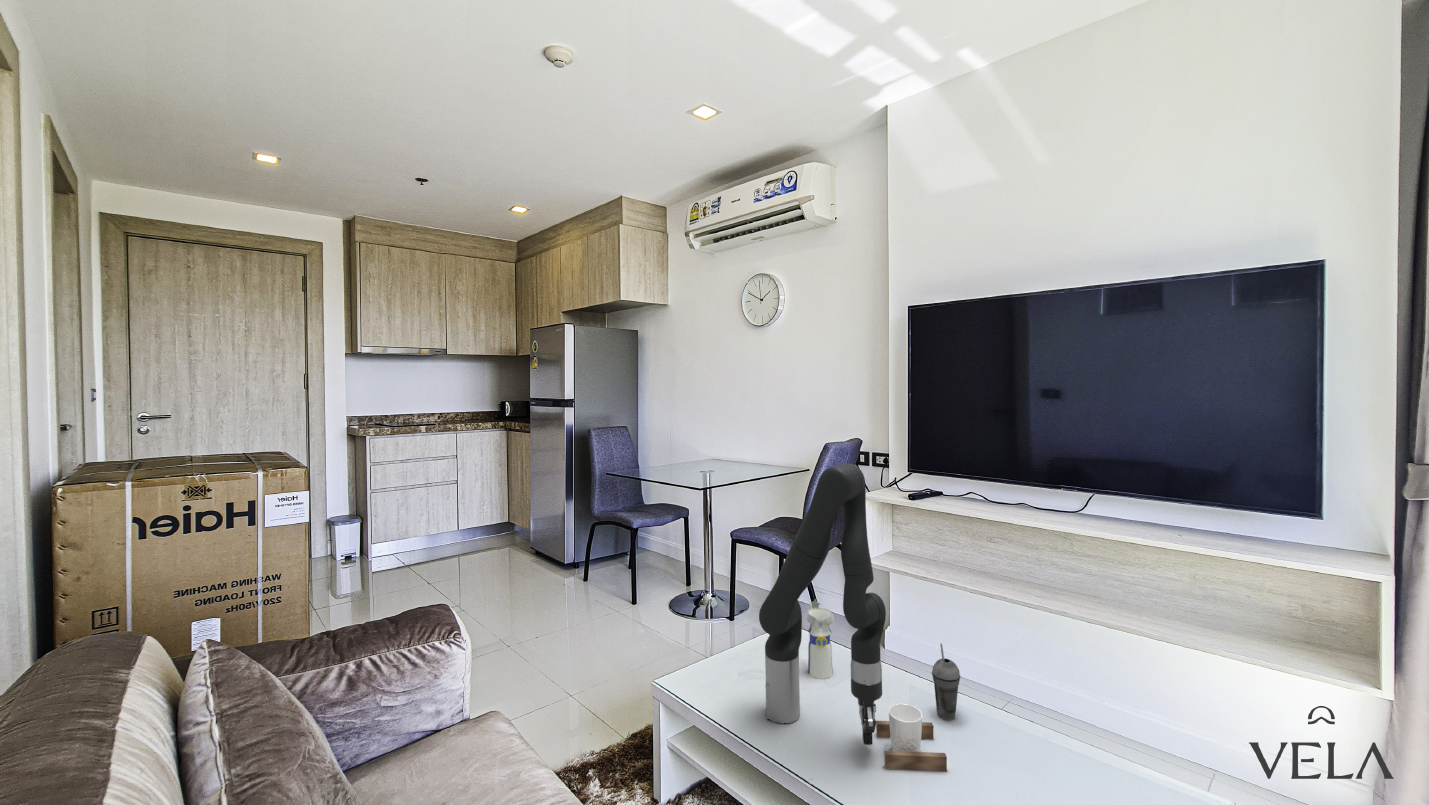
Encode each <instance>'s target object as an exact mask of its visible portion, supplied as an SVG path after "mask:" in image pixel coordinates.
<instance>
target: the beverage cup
mask: <svg viewBox="0 0 1429 805" xmlns="http://www.w3.org/2000/svg"><path fill="white" fill-rule="evenodd" d="M939 645H940V652H941V658H940V659H938V660H936V662H934V664H933V666H932V670H931V675H932V680H933V683H934V684H933V686H934V696H935V708H936V713H937V714H936V715H937V716H938V718H939V719H941V720H943V721H953V720H955V719H956V713H957V705H958V704H957V702H958V692H959V685H960V679H961V674H960V670H959V667H958V665H957V664H956V663H955V662H954V661H953V660H951V659H949V658H945V656H944V648H943V643H941V642H940V644H939Z"/></svg>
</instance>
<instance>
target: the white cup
mask: <svg viewBox="0 0 1429 805" xmlns="http://www.w3.org/2000/svg"><path fill="white" fill-rule="evenodd" d="M888 721H889V725H890V747H891V749H890V750H891V751H909V752H921V745H922V744H921V743H922V739H921V734H922V722H923V713H922V711H921V710H920V709H919V708H918V707H916V706H914V705H911V704H907V703H896V704H892V705H891V706H890V707H889V709H888Z"/></svg>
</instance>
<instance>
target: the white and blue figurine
mask: <svg viewBox="0 0 1429 805" xmlns="http://www.w3.org/2000/svg"><path fill="white" fill-rule="evenodd" d="M809 603H810V604H811V605H812V606H811V608H810V609H809V610H807V613H806V617H805V618H806V621H807V622H808V623H809V624H810V625H809V628H808V631H807V632H808V634H809V640H808V645H807V646H808V648H807V649H808V652H807V653H808V655H807V656H808V660H807V661H808V663H807V674H808V675H809V676H810V677H812V678H813V679H818V680H825V679H826V680H827V679H829V678H831V677H832V676H833V674H834V672H833V671H834V669H833V652H832V651H833V650H832V643H831V634H832V630H831V628H830V626H831V625H832V624H833V623H834V621H835V616H834V615H833V612H832V611H831V610H830V609H829V608H827V607H819V606H820V605H822V603H821V602H817V599H816V598H815V599H813V601H810V602H809Z"/></svg>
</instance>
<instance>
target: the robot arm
mask: <svg viewBox="0 0 1429 805" xmlns="http://www.w3.org/2000/svg"><path fill="white" fill-rule="evenodd" d="M819 476H820V477H819V478H818V481H817V484H816V487H815V490H814V493H813V496H812V499H811V502H810V504H809V507H808V510H807V512H806V514H805V516H804V518H803V520H802V523H801V524H800V527H799V529H798V531H797V534H796V535H795V537H794V539H793V540H792V543H791V545H790V548H789V550H788V552H787V555H786V558H785V560H784V562H783V564H782V566H781V569H780V571H779V574H778V576H777V578H776V581H775V583H774V585H773V586H772V588H771V589H770V591H769V593H768V595H767V596H766V598H765V600H764V602H762V605H761V606H760V607H759V608H760V609H759V611H758V612H759V614H758V619H759V620H758V622H759V625H760V626H761V628H762V630H763V631H764V632H765V633H767V634H768V635H769V636H768V638H767V639H766V641H765V643H764V655H765V656H764V658H765V661H764V662H765V663H764V664H765V719H766V720H767V719H771V720H770V721H772V720H773V721H772V722H774V721H775V722H774V723H777V722H778V723H777V724H784V723H786V724H790V723H794V722H796V721H797V720H799V718H800V716H801V704H800V700H801V699H800V698H801V697H800V696H801V694H800V689H801V688H800V654H799V653H800V651H799V650H800V646H801V644H802V643H801V642H802V637H803V636H802V630H803V624H802V623H803V615H802V614H803V613H802V607H801V605H800V604H801V603H800V602H799V599H800V598H801V597H800V596H801V595H802V594H803V593H804V591H805V590H806V589H807V588H808V587H809V585H810V584H811V582H813V581H814V579H815V578H816V576H817V574H818V573H819V572H820V570H821V568H822V567H823V565H824V562H825V560H826V559H827V556H828V554H829V551H830V550H831V549H830V548H831V542H832V529H833V525H834V522H835V520H836V518H837V516H838V514H839V512H840V510H841V509H842V515H843V517H842V518H843V526H842V527H843V528H842V535H841V543H840V556H841V558H840V559H841V565H842V569H843V570H842V572H843V576H844V586H843V598H842V609H843V615H844V618H845V620H846V622H847V623H848V624H849V626H851V627H852V628H854V629H856V631H855V632H854V633H853V634H852V635H851V639H850V649H851V650H850V655H851V656H850V658H851V659H850V667H849V668H850V691H851V692H850V693H851V694H852V696H853V697H854V698H856V699H857V705H858V714H859V719H860V725H861V728H862V729H861V730H862V731H861V732H862V743H863V744H864V745H865V746H867V745H869V746H872V745H873V743H874V742H873V740H874V739H873V734H874V733H876V732H875V731H876V721H877V719H876V713H877V706H876V703H875V701H878V700H880V698H882V696H883V669H882V667H883V666H882V660H881V639H882V636H883V632H884V628H885V623H886V617H887V609H886V605H885V602H884V600H883V598H882V597H881V596H879V594H877V593H874V592H867V590H868V588H869V587H870V586H871V585H872V584H873V582H874V580H875V578H874V577H875V576H874V571H873V565H872V559H871V554H870V547H869V538H868V529H867V528H868V527H867V507H866V506H867V504H866V503H867V500H866V496H867V495H866V494H867V493H866V489H867V488H866V479H865V475H864V473H863V471H862V470H861V469H860V468H859V466H857V465H855V464H853V463H840V464H836V465H832V466H829V467H827V468H826V469H824V470H823V472H822V473H821V474H820V475H819Z"/></svg>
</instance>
